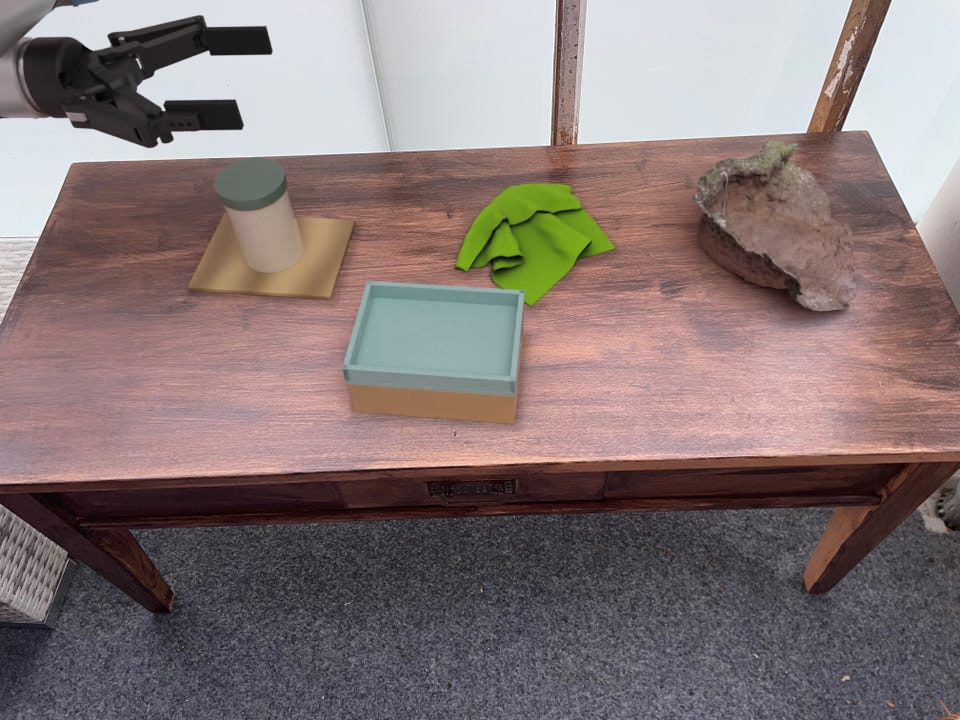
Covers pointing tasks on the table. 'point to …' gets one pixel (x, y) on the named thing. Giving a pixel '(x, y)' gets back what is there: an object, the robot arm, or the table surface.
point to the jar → (260, 213)
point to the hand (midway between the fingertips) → (255, 75)
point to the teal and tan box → (436, 352)
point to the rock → (776, 228)
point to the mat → (302, 280)
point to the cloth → (532, 238)
